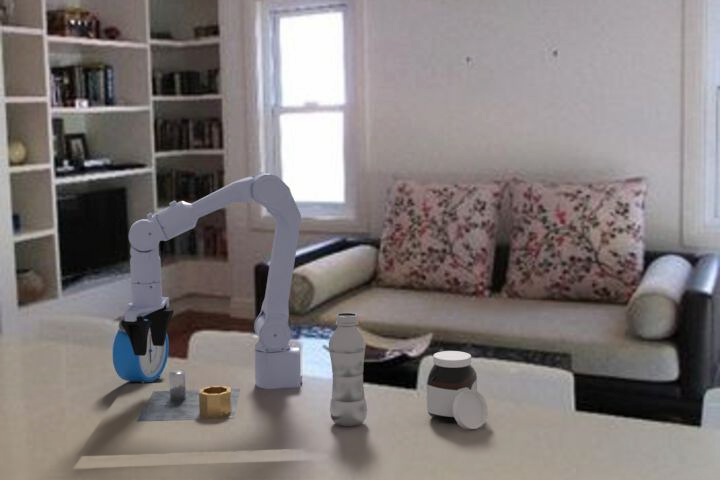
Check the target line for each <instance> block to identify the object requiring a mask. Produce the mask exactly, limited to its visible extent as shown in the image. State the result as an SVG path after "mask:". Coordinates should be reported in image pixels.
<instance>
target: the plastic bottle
mask: <svg viewBox="0 0 720 480" xmlns="http://www.w3.org/2000/svg"><path fill="white" fill-rule="evenodd" d="M358 318H359V317H358V314H357V313H355V312H339V313H337V314H336V318H335V319H336V321H335V326H337V327H336V329H335V330H334V332H333V333H332V335H331V336H330V338H329V341H328V350H329V351H328V352H329V357H330V362H331V373H332V377H331V378H332V388H331V389H332V391H331V399H330V404H329V413H330V418H331V420H332V421H333V423H334V424H335V425H339V426H344V427H353V426H358V425H361V424H363V423H364V422H365V421H366V419H367V413H368V407H367V401H366V398H365V397H366V396H365V388H364V374H363V373H364V364H365V363H364V362H365V354H366V344H367V343H366V340H365V338H364V336H363V334H362V333H361V332H360V331H359V329H358V328H357V326H358V325H359V319H358Z"/></svg>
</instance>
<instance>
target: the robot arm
mask: <svg viewBox="0 0 720 480" xmlns="http://www.w3.org/2000/svg"><path fill="white" fill-rule="evenodd" d="M252 199H253V201H255V202H256V203H257V204H259V205H260V206H262V207H263V208H265V209H266V211H267V212H268V213H269V215H270V216H271V217H272V219H273V220H274V221H275V227H274V232H273V233H274V235H273V239H272V240H273V241H272V246H271V254H270V261H269V266H268V267H269V268H268V272H267V273H268V274H267V282H266V288H265V294H264V299H263V301H262V305H261V309H260V313H259V314H258V316H257V317H256V318H255V320H254V324H253V328H254V332H255V334H256V336H257V337H258V340H257V342H256V343H255V345H254V371H255V372H254V375H255V378H254V379H255V382H254V383H255V386H256V387H258V388H261V389H266V390H277V389H286V388H301V384H303V374H301V348H300V347H299V346H296V347H295V346H291V343H290V340H291V329H290V326H289V318H290V317H289V316H290V310H289V309H290V308H289V301H290V295H291V287H292V280H293V274H294V267H295V261H296V255H297V248H298V243H299V242H298V241H299V234H300V230H301V222H302V215H301V211H300V210H299V208H298V206H297V203H296V201H295V198H294V197H293V194H292V191H291V189H290V187H289V186H288V185H287V184H286V183H285V182H284V181H283V180H282V179H281V178H280V177H279V176H278V175H276V174H272V173H269V172H264V171H263V172H258V173H256V174H255V175H253V176H247V177H244V178H240V179H238V180H235V181H233V182H231V183H228V184H227V185H225V186H223V187H221V188H219V189H217V190H216V191H214V192H211V193H209V194H208V195H205V196H204V197H202V198H200V199H198V200H196V201H193V202H192V203H190V202H186V201H184V200H180V201H178V202H177V201H176V200H173V201H171V202H169V206H168V207H165V208H163V209H162V210H159V211H157V212H155V213H152V212H150V213H148V214H146V218H145V219H144V218H143V219H139V220H136V221H135V222H133V224H132V225H131V227H130V229H129V231H128V241H129V243H130V250H129V253H130V257H131V258H130V259H129V265H130V267H129V268H130V282H131V283H130V285H131V302H129V303H127V304H126V307H127V309H126V310H124V316H125V318H124V319H122V318H121V319H122V320H121V319H120V320H121V325H122V327H123V328H124V329H125V331H126V333H127V335H128V337H129V339H130V342H131V345H132V348H133V352H134V355H139V356H144V355H146V351H147V338H148V332H149V328H150V331H151V339H152V343H153V346H164V343H165V338H166V333H167V331H168V327H169V325H170V322H171V319H172V317H173V315H174V310H175V309H173V308H169V307H170V297H167V296H163V290H162V289H163V288H162V287H163V286H162V266H161V263H162V262H161V257H160V255H159V254H160V253H159V244H160V242H162V241H164V242H166V241H169V240H171V239H174V238H175V237H178V236H179V235H182V234H183V233H186V232H188V231H190V230H192V229H195V227H196V226H197V222H198V220H199V218H202V217H204V216H206V215H208V214H211V213H213V212H216V211H218V210H220V209H223V208H225V207H227V206H229V205H231V204H233V203H247V204H248V203H249V204H252V202H253V201H252ZM145 315H146V317H147V320H144V319H142V317H143V316H145ZM167 334H168V333H167Z"/></svg>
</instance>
